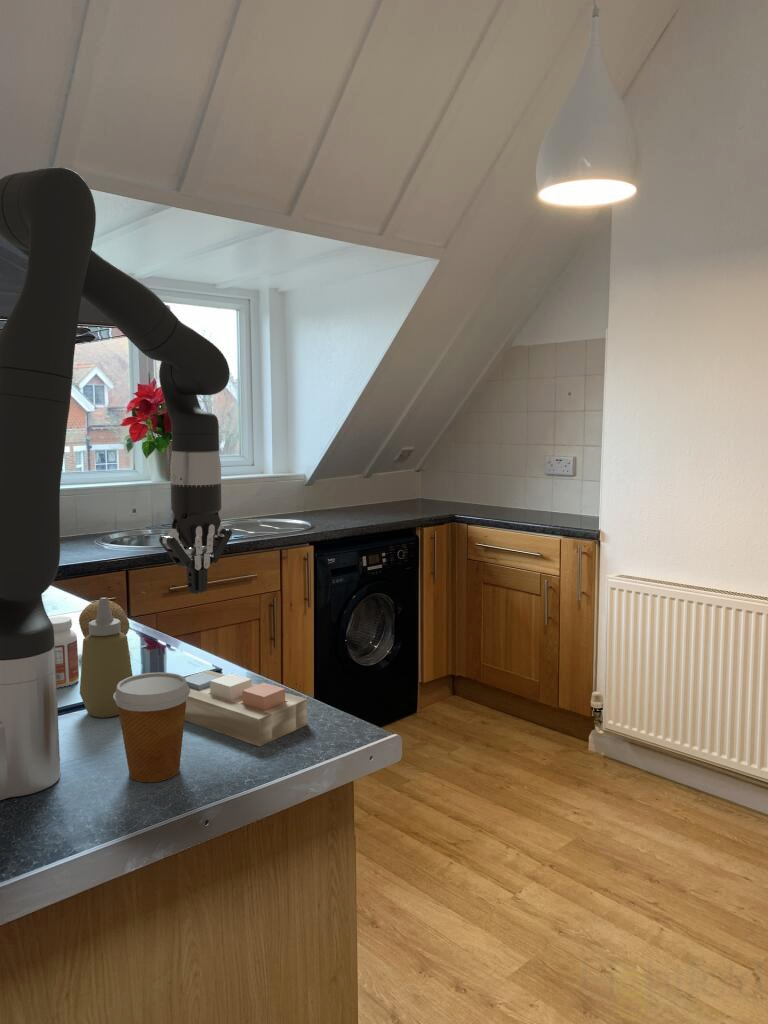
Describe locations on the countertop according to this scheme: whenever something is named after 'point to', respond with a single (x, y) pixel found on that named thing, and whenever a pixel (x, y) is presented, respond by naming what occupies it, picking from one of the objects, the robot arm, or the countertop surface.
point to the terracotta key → (263, 696)
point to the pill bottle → (65, 652)
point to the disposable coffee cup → (152, 723)
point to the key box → (245, 716)
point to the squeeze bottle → (103, 663)
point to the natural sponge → (91, 613)
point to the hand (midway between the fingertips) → (197, 592)
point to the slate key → (199, 681)
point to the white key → (229, 686)
